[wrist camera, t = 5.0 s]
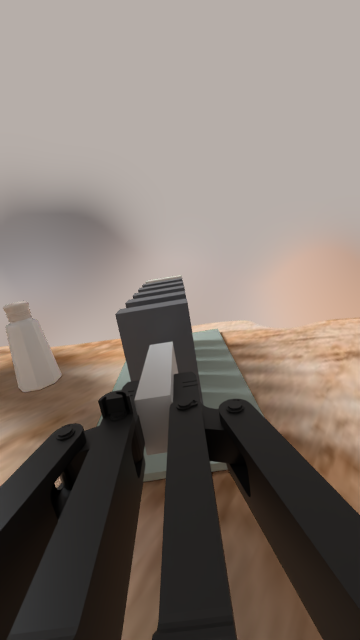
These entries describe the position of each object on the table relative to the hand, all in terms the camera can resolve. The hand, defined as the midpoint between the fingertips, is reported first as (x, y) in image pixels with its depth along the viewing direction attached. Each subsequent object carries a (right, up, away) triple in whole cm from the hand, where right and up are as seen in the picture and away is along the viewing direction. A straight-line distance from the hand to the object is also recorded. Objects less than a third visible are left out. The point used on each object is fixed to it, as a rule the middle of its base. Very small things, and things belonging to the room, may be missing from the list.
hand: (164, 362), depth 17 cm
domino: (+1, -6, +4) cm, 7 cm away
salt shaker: (-18, -6, +19) cm, 27 cm away
